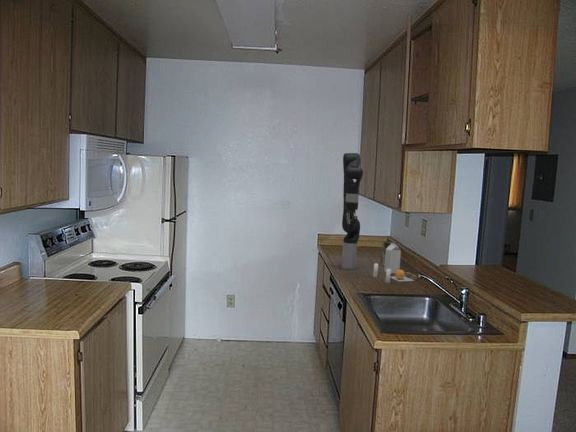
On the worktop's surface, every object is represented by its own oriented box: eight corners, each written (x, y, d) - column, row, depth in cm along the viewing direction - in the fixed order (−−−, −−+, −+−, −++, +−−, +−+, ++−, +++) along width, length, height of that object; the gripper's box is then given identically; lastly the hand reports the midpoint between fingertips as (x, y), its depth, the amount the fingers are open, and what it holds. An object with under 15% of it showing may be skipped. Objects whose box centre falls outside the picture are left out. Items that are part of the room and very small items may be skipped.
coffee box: (395, 266, 331) (397, 243, 329) (388, 267, 328) (390, 244, 326) (387, 264, 339) (389, 241, 337) (380, 264, 336) (381, 241, 334)
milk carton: (389, 273, 307) (391, 244, 305) (384, 271, 314) (386, 242, 312) (399, 273, 309) (401, 244, 307) (393, 271, 316) (396, 242, 314)
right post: (384, 282, 284) (385, 268, 283) (388, 282, 285) (389, 268, 284) (386, 283, 282) (388, 269, 281) (390, 283, 282) (391, 269, 282)
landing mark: (389, 277, 298) (389, 276, 298) (404, 276, 302) (404, 276, 302) (398, 281, 288) (398, 281, 288) (414, 280, 291) (414, 280, 291)
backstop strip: (405, 276, 301) (405, 272, 301) (407, 276, 302) (408, 272, 302) (414, 280, 292) (414, 275, 292) (416, 280, 293) (417, 275, 292)
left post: (372, 276, 298) (373, 263, 297) (376, 276, 299) (377, 263, 298) (374, 277, 296) (375, 264, 295) (378, 277, 297) (379, 264, 296)
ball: (403, 277, 297) (396, 282, 295) (397, 268, 298) (391, 273, 295) (408, 275, 292) (402, 280, 289) (403, 266, 292) (396, 271, 290)
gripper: (341, 200, 288) (339, 228, 290) (351, 202, 276) (349, 232, 278) (352, 200, 291) (350, 228, 293) (362, 202, 278) (360, 232, 280)
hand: (349, 230), depth 285 cm, fingers closed
